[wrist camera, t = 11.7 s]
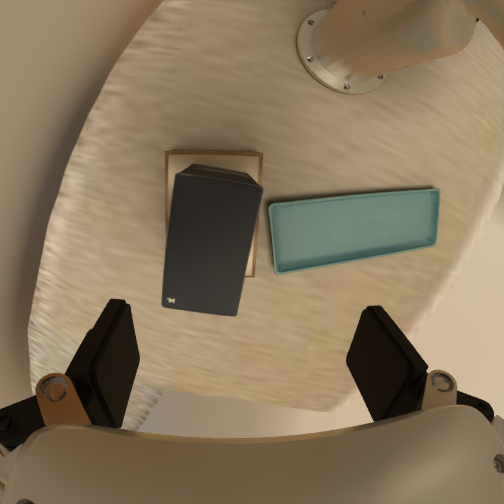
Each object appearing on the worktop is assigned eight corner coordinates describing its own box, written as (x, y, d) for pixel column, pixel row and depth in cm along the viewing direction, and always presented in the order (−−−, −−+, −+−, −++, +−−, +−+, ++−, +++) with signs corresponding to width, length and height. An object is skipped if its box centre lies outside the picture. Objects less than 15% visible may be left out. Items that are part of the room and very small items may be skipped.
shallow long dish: (432, 185, 35) (442, 188, 33) (428, 241, 39) (437, 247, 36) (264, 199, 34) (267, 203, 32) (271, 267, 37) (274, 276, 35)
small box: (233, 266, 32) (239, 321, 22) (176, 258, 30) (157, 310, 21) (252, 172, 28) (268, 187, 18) (189, 162, 27) (170, 171, 17)
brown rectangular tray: (172, 150, 30) (165, 151, 26) (258, 152, 31) (263, 153, 27) (173, 261, 35) (167, 276, 31) (251, 263, 36) (254, 278, 32)
